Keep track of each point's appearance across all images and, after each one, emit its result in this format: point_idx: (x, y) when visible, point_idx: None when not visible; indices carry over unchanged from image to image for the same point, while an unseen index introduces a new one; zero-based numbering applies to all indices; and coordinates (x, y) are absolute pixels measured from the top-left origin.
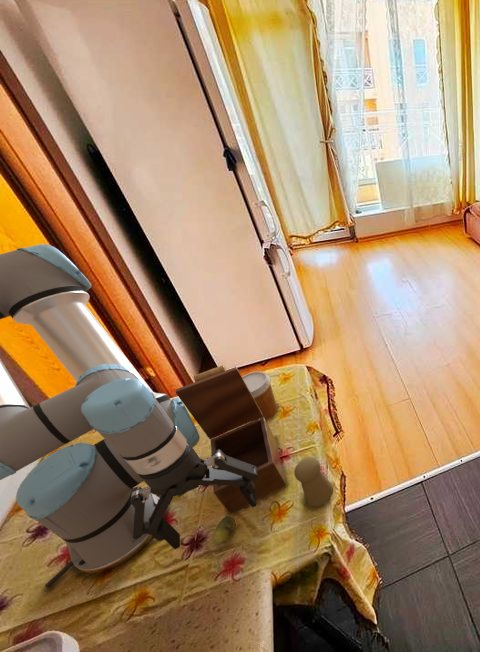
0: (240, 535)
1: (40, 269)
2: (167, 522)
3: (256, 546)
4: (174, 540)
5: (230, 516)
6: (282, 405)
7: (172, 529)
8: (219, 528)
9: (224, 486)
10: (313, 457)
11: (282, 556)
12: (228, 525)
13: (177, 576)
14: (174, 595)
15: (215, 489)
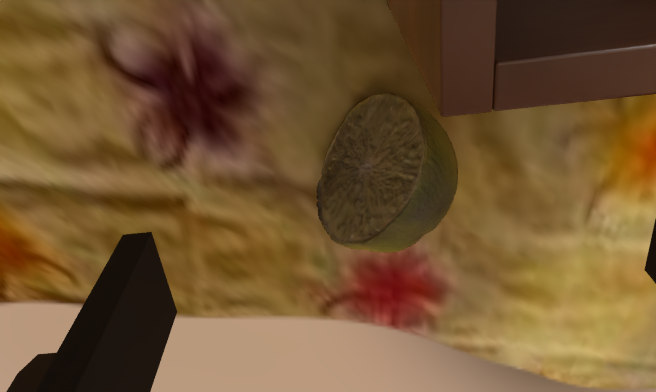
0: None
1: None
2: (79, 386)
3: (502, 260)
4: (154, 355)
5: (441, 142)
6: None
7: (120, 329)
8: (392, 243)
9: (565, 99)
10: None
11: (591, 342)
12: (437, 225)
13: (146, 231)
14: None
15: (467, 86)
